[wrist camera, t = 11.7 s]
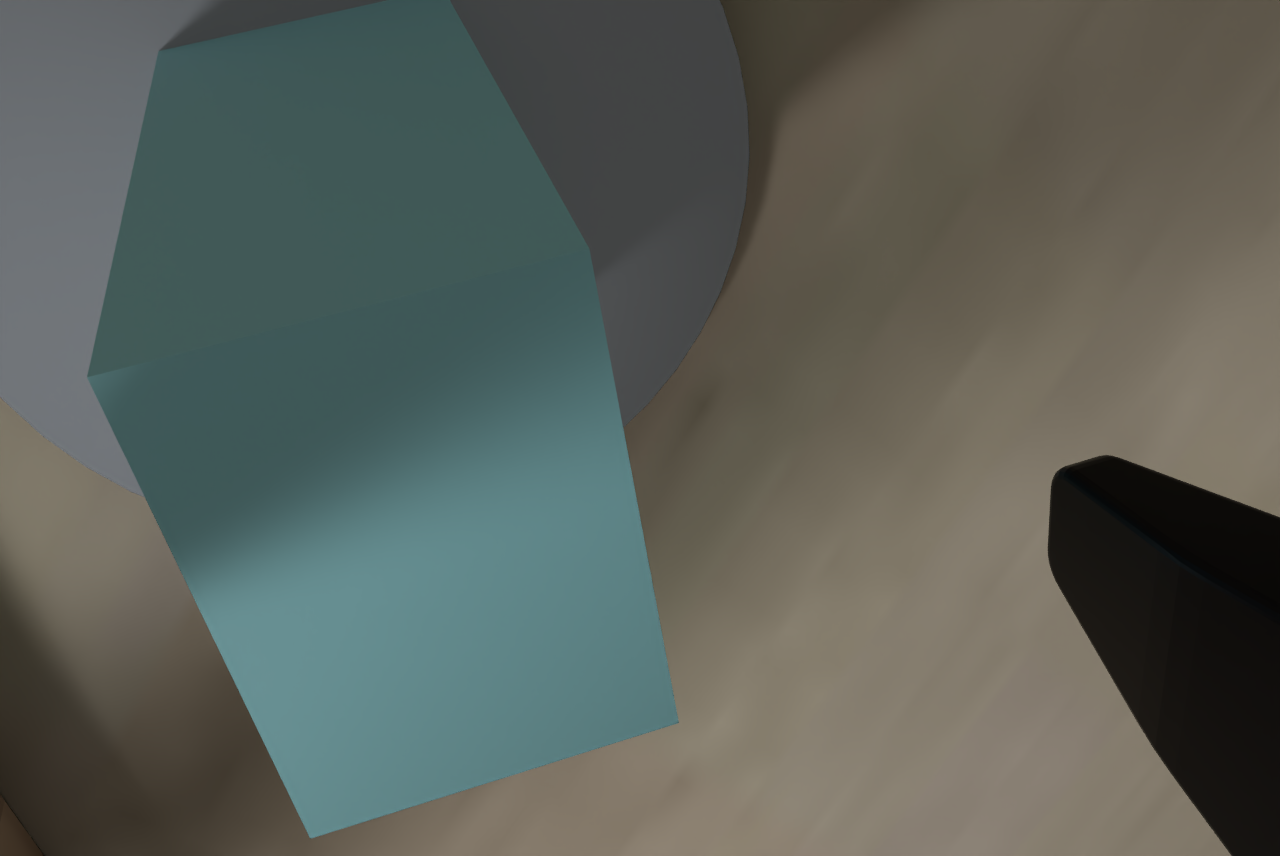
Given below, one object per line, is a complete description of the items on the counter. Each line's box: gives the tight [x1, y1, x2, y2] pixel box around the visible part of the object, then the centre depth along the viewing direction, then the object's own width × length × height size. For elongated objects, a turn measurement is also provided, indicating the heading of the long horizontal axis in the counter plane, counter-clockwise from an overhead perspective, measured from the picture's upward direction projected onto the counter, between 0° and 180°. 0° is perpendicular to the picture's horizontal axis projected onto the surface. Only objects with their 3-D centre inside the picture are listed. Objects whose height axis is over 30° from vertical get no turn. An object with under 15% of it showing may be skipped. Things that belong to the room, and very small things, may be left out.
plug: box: [87, 0, 679, 839], centre depth 13 cm, size 5×4×8 cm
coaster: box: [0, 0, 750, 497], centre depth 17 cm, size 11×11×1 cm
